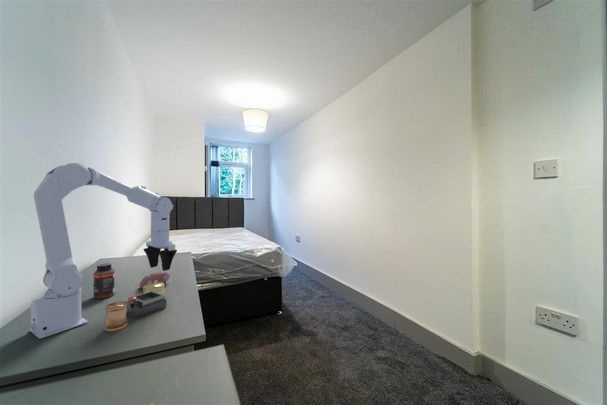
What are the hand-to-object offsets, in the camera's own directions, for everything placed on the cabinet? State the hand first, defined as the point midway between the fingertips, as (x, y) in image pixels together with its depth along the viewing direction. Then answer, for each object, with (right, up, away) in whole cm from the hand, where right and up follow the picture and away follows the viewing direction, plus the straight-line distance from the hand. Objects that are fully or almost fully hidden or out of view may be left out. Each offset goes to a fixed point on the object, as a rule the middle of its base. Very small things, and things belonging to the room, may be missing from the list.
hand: (160, 268), depth 87 cm
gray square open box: (+1, -10, -11) cm, 15 cm away
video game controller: (-8, -10, +10) cm, 16 cm away
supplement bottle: (-20, -10, 0) cm, 22 cm away
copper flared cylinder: (+1, -10, -21) cm, 24 cm away
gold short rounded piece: (-2, -10, 0) cm, 10 cm away
